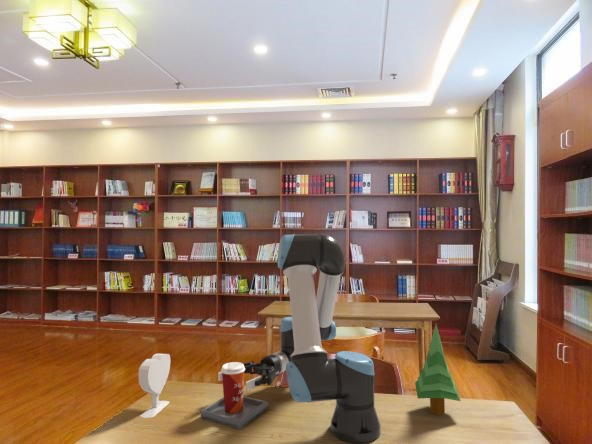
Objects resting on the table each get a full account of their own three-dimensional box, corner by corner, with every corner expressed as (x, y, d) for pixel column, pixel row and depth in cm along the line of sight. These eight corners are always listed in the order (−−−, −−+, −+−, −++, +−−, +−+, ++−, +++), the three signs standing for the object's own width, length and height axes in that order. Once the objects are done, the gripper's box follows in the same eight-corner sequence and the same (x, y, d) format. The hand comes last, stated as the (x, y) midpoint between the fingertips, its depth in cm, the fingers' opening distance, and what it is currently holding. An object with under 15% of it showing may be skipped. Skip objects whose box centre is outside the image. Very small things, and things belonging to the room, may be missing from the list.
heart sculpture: (159, 399, 149) (159, 350, 149) (172, 399, 148) (172, 350, 148) (136, 418, 134) (136, 364, 134) (150, 419, 133) (150, 364, 133)
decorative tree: (419, 420, 130) (418, 327, 131) (414, 400, 146) (412, 316, 146) (463, 424, 128) (462, 329, 128) (453, 402, 143) (452, 318, 144)
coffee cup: (241, 416, 132) (240, 370, 132) (217, 414, 134) (216, 369, 134) (249, 405, 141) (248, 361, 140) (227, 403, 142) (226, 360, 142)
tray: (267, 408, 140) (267, 401, 140) (240, 429, 126) (240, 421, 126) (231, 399, 148) (230, 392, 148) (200, 418, 133) (200, 410, 134)
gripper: (300, 381, 145) (259, 402, 128) (250, 367, 160) (208, 384, 144) (300, 360, 145) (259, 378, 128) (250, 348, 161) (208, 362, 144)
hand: (232, 381), depth 136 cm, fingers open, 13 cm apart
